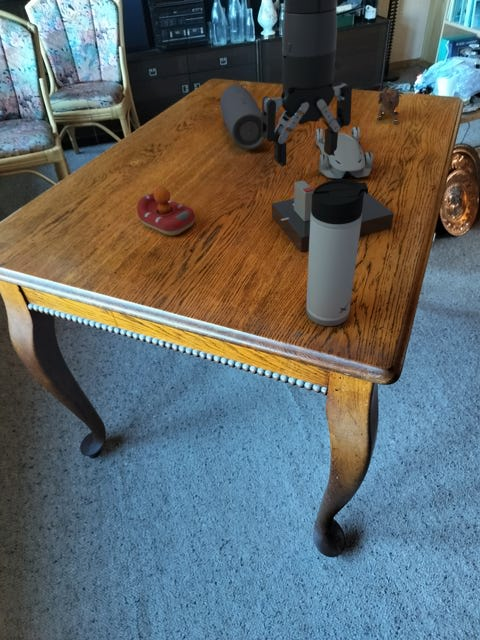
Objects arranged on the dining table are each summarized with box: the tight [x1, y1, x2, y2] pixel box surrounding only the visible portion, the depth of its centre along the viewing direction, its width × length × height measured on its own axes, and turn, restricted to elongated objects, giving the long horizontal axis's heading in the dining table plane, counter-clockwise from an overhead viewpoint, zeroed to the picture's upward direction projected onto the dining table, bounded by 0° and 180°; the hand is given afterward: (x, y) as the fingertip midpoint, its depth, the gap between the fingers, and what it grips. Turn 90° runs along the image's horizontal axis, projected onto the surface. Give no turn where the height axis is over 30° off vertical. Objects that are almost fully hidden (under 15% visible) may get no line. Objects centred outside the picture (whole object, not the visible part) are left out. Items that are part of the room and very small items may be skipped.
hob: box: [271, 192, 395, 253], centre depth 86 cm, size 19×13×3 cm
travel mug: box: [305, 178, 369, 327], centre depth 62 cm, size 6×7×20 cm
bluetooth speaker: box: [219, 84, 266, 150], centre depth 117 cm, size 23×9×10 cm, turn 9°
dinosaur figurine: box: [376, 84, 405, 125], centre depth 120 cm, size 14×6×9 cm, turn 163°
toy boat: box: [136, 186, 196, 237], centre depth 88 cm, size 8×12×8 cm, turn 51°
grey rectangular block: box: [293, 179, 315, 222], centre depth 82 cm, size 4×2×6 cm, turn 19°
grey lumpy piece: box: [314, 126, 374, 180], centre depth 105 cm, size 11×24×5 cm, turn 178°
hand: (305, 158), depth 77 cm, fingers open, 8 cm apart
